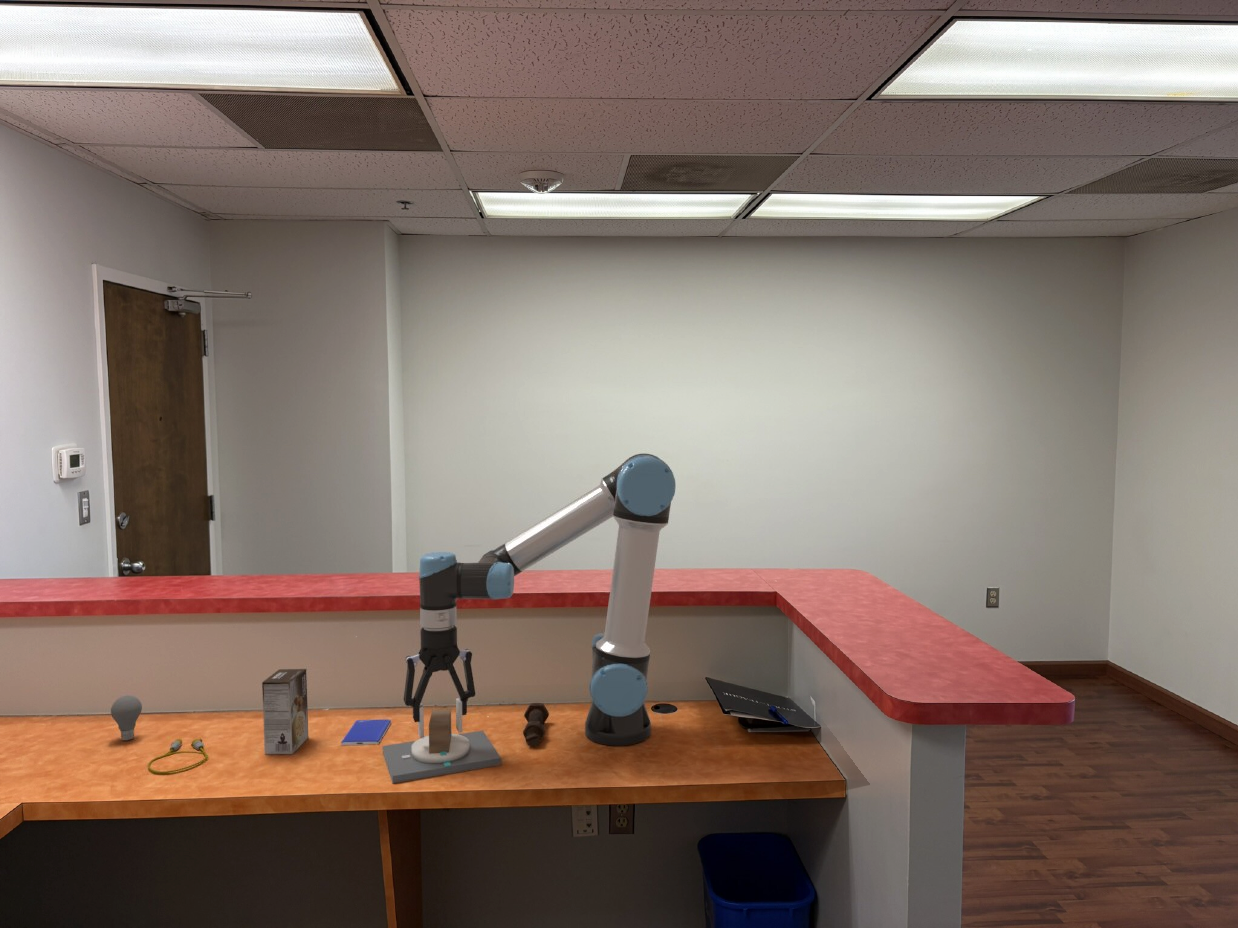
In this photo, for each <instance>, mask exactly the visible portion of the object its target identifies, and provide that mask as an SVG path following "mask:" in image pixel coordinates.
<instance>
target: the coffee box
mask: <svg viewBox="0 0 1238 928" xmlns="http://www.w3.org/2000/svg"><path fill="white" fill-rule="evenodd" d="M307 679H308V678H307V668H287V669H286V668H285V669H283V668H282V669H278V670H277V671H275V672H274V673H272V674H271V675H270V676H269V677H267V678H266V679H265V680H263V681H262V682H261V684H262V685H261V687H262V713H263V714H262V715H263V716H262V717H263V738H264V739H263V741H264V755H293V754H294V753H296V751H297V750H298V749H299V748H300V747H301V746H302V745H303V744H304V743H305V741H307V740H308V739H309V716H308V715H309V710H308V708H309V707H308V688H307V687H308V685H307V684H308V683H307V682H308V681H307Z"/></svg>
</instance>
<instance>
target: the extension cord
mask: <svg viewBox="0 0 1238 928" xmlns="http://www.w3.org/2000/svg"><path fill="white" fill-rule="evenodd" d="M182 744H183V740H182V739H181V738H176V739H175V740H174V741H173V742H172V743H171V744H170V748H169V751H168V752H166V753H164V754H162V755H161V756H160V755H159V756H157V757H154V758H153V759H151V760H150V761H149V762H148V763H147V771H148V772H149V773H151V774H154V775H174V774H180V773H184V772H187V771H190V770H193V769H195V768H196V767H199V766H200V765H203V764H204V763H206V762H208V760H210V759H209V758H210V757H209V755H208V754H207V752H206V751H205V750H204V746H205V745H204V742H203V740H202V738H195V739H193V740H192V741H191V744H190V746H191V747H192V748H193V749H194V750H197V751H188V750H186V751H178V750H179V749H180V747H181V746H182ZM200 751H202V752H200ZM183 753H191V754H200V755H203V756H204V758H203V759H202V760H200V761H198V762H195V763H193V764H191V765H188V766H184V767H181V768H177V769H171V770H166V771H164V770H163V771H160V770H159V771H158V770H155V769H152V767H151V765H152V763H153V762H155V761H156V760H158V759H162V758H165V757H168V756H171V755H176V754H183Z"/></svg>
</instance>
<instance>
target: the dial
mask: <svg viewBox="0 0 1238 928" xmlns="http://www.w3.org/2000/svg"><path fill="white" fill-rule="evenodd" d="M429 717H430V718H429V723H428V735H426V736H424V738H421V739H420V738H419V739H417V740H414V741H415V742H414V743H413V744H412V757H413V758H414V759H415V760H417V761H420V762H424V763H445V762H451V761H454V760H457V759H460V758H462V757H464V756H465V755H466V754H467V753H468V752H469V740H468V739H467V738H466V737H464V736H462V735H458V734H459V733H452V708H439V709H432V710H431V713H430V716H429Z"/></svg>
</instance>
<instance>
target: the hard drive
mask: <svg viewBox="0 0 1238 928" xmlns="http://www.w3.org/2000/svg"><path fill="white" fill-rule="evenodd" d="M391 721H392V719H389V718H388V719H356V720H355V722H354V723H353V724H352V726H351V728H350V729H349V730H348V732H347V733H346V735H344V737H343V739H341V742H340V746H369V745H370V744H371V746H372V744H378V745H380V743H381V741H382V740H383V738H384V736H385V735H386V733H387V731H388V729H389V727H390V726H391V725H392V722H391ZM382 737H383V738H382ZM379 742H380V743H379ZM368 744H369V745H368Z"/></svg>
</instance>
